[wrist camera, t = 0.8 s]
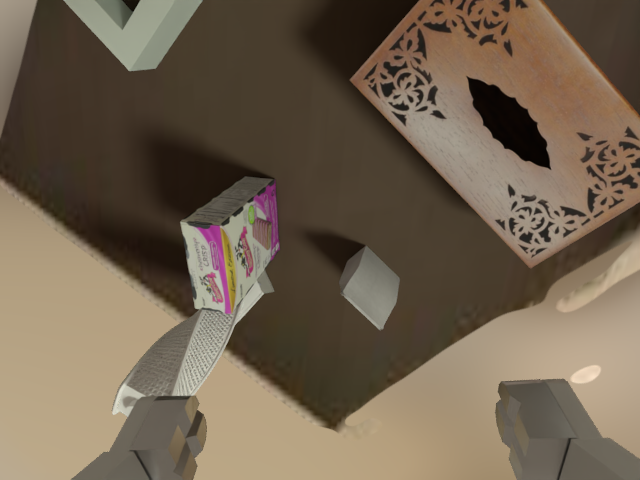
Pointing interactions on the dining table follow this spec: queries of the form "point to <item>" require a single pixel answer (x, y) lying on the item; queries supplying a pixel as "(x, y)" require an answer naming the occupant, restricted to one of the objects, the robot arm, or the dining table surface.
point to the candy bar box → (231, 243)
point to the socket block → (136, 27)
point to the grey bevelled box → (370, 286)
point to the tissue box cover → (510, 118)
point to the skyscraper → (185, 354)
